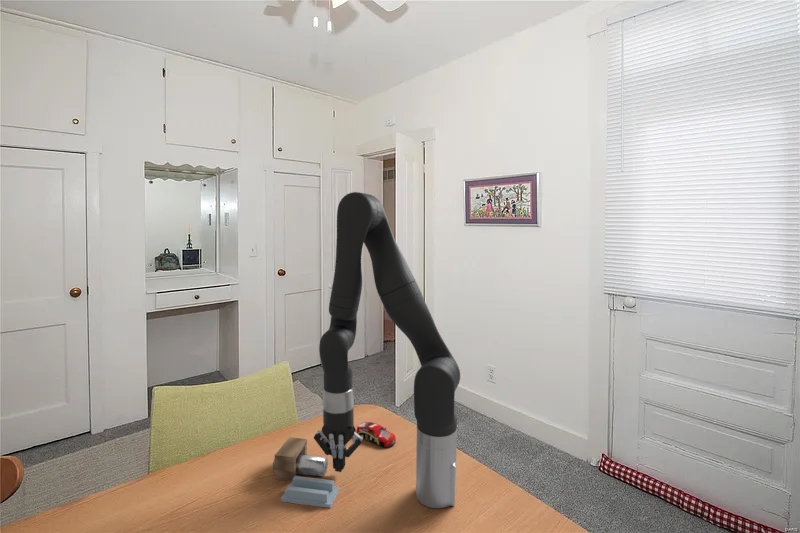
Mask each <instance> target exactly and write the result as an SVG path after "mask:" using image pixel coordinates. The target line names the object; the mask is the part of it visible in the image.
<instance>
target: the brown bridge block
mask: <svg viewBox="0 0 800 533" xmlns="http://www.w3.org/2000/svg"><path fill="white" fill-rule="evenodd" d="M299 454H300V455H308V439H307V438H299V437H291V436H289V437H288V438H287V439H286V440H285V442H284V443H283V444H282V446H281V447H279V449H278V451H277V452H276V453H275V454H274V458H275V471H274V472H275V474H274V475H275V476H274V477H275V478H274V479H275V480H279V481H280V480H282V481H290V482H293V477H294V476H297V473H296V458H297V456H298V455H299Z"/></svg>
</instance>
